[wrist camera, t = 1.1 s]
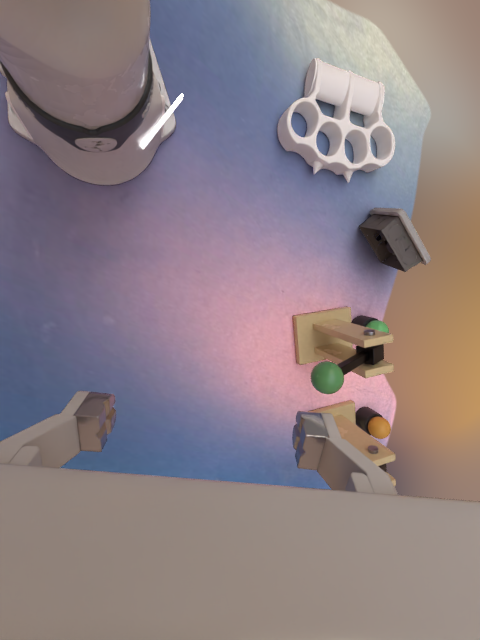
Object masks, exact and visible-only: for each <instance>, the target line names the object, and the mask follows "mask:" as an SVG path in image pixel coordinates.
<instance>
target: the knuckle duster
mask: <svg viewBox="0 0 480 640" xmlns="http://www.w3.org/2000/svg"><path fill="white" fill-rule="evenodd" d="M384 97H385V87H384V85H383V84H382V82H380V81H378V82H375V81H372V80H369V79H367V78H364V77H362V76H359V75H356V74H354V73H353V72H352V71H351V70H348V71H346V70H343V69H341V68H338V67H335V66H333V65H330V64H327V63H325V62H322V61H321V59H319V58H316V59H313V60H312V61H311V63H310V66H309V69H308V72H307V76H306V81H305V93H304V98H301V99H298V100H296V101H295V102H294V103H293V104H292V105H291V106H290V107H289V108H288V109H287V110H286V111H285V112H284V113H283V114H282V116H281V117H280V119H279V122H278V128H277V132H278V138H279V141H280V143H281V145H282V146H283V148H284V149H285V150H286V151H293V152H296V153H298V154H300V155H301V156H302V157H303V158H304V159H305V161H306V162H307V164H309V165H310V166H312V167H313V172H314V174H315V173H316V172H317V171H318V170H320V169H329V170H331V171H333V172H334V173H335V174H336V175H342V174H343V175H344V177H345V179H346V180H347V182H348V183H349V181H350V178H351V176H352V174H353V172H354V171H356V170H358V169H359V170H363V171H365V172H366V173H368V172H371V171H373V170H376V169H378V168H381V167H383V166H385V165H386V164H387V163H388V162H389V161H390V160H391V158H392V156H393V154H394V151H395V138H394V135H393V132H392V131H391V129H390V128H389V126H387V125H386V124H385V123H384V120H383V117H382V114H381V113H382V107H383V102H384ZM316 99H318V100H321V101H324V102H327V103H330V104H333V105H335V110H334V116H333V118H332V117H328V116H325V115H323V114H322V112H321V110H320V108H319V106H318V104H317V103H316ZM350 110H351V111H354V112H357V113H360V114H363V115H364V118H363V123H364V128H363V127H360V126H356V125H353V124H352V123H351V122H350V119H349V115H350ZM293 112H297V113H300V114H301V115H302V116H303V117H304V118H305V120H306V123H307V132H306V135H305V137H300V136H298V135H297V134H296V133H295V132H294V130H293V128H292V126H291V117H292V114H293ZM319 131H322V132H323V133H325V134H326V136H327V137H328V139H329V143H330V147H329V151H328V153H327V156H325V155H323V154H321V153H320V151H319V150H318V148H317V145H316V137H317V134H318V132H319ZM370 136H372V137H373V138H374V140H375V142H376V145H377V157H376V158H375V157H374V156H373V154H372V152H371V148H370ZM345 139H347V140H348V141H349V142H350V143H351V144H352V147H353V154H354V160H353V163H351V162H350V161H349V160H348V159H347V157H346V155H345V147H344V141H345Z"/></svg>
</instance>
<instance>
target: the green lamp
mask: <svg viewBox="0 0 480 640" xmlns="http://www.w3.org/2000/svg"><path fill="white" fill-rule="evenodd" d="M352 323H353V324H357V325H360V326H364V327H368V328H371V329H375V330H379V331H382V332H386V333H389V330H388V327H387V325H386V324H385V323H384V322H382V321H379V320H377V319H375V318H371V317H367V316H357V317H356V318H355V319H354V320H353V321H352Z"/></svg>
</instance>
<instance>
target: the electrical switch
mask: <svg viewBox="0 0 480 640" xmlns="http://www.w3.org/2000/svg"><path fill="white" fill-rule="evenodd" d="M370 214H371V217H369V218H368V219H367V220H366V221H365V222H364V223H363V224H361V225H360V226H359V228H360V229H361V231H362V233H363V234H364V236H365V238H366V239H367V241H368V243H369V244H370V246H371V247H372V249H373V251H374V252H375V254H376V256H377V257H378V259H379V261H380V262H382V261H383V262H382V263H383V264H385V265H388V266H391V267H393V268H396V269H399V270H402V271H404V272H406V271H407V270H408V269H410V268H411V267H413V266H415V265H417V264H418V263H420V262H421V263H422V264H425V265H426V264H427V263H429V262H430V261H431V258H430V256H429V254H428V252H427V250H426V249H425V247H424V245H423V243H422V241H421V239H420V238H419V236H418V234H417V232H416V230H415V228H414V227H413V225H412V223H411V221H410V219H409V217H408V216H407V214H406V212H405V211H404V210H403V209H395V208H374V209H372V210H371V211H370ZM377 232H378V233H377ZM376 233H377V234H376ZM375 234H376V235H375ZM367 235H368V236H367ZM374 235H375V236H374ZM378 235H381V237H382V239H381V240H379V241H377V240H376V237H377V236H378ZM382 242H383V243H382ZM380 243H381V244H380ZM378 244H380V245H378ZM378 253H379V254H378Z"/></svg>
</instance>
